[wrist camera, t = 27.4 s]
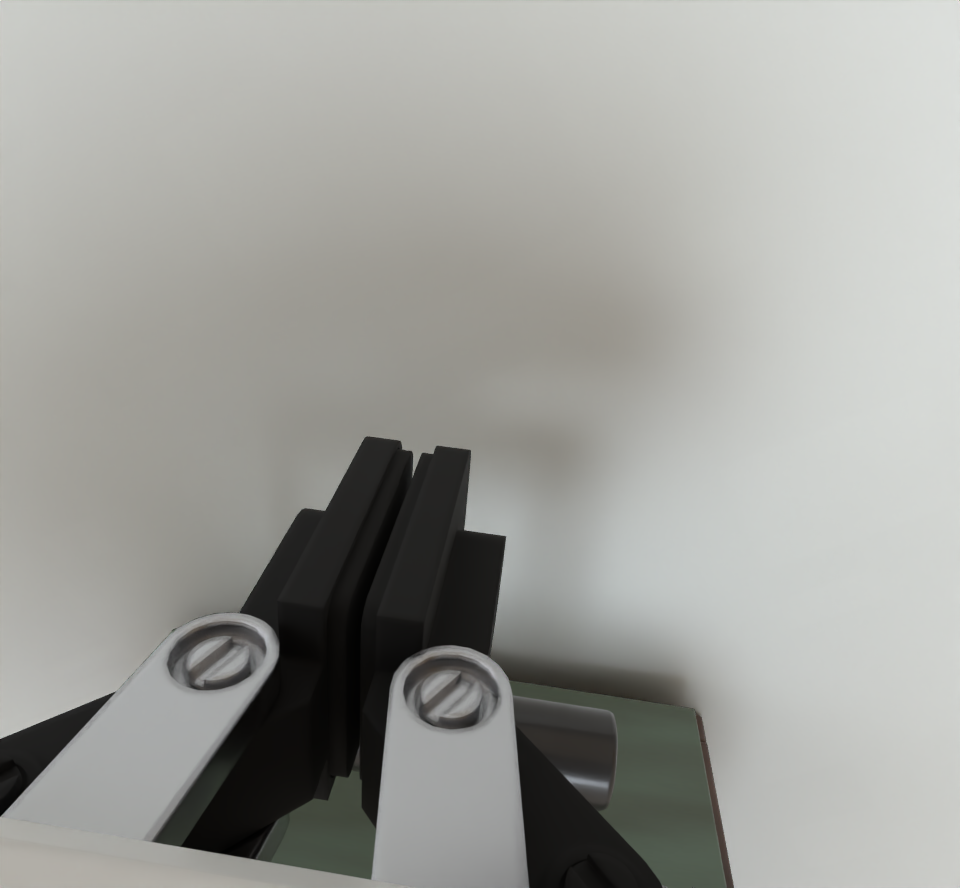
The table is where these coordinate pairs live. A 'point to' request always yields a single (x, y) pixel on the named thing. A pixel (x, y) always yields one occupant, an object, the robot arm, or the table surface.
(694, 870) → the drawer
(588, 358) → the table surface
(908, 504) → the table surface
